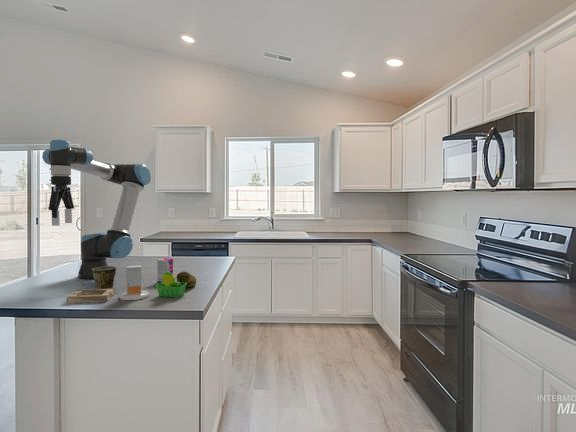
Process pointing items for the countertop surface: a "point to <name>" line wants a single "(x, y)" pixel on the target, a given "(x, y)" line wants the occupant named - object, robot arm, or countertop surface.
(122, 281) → the countertop surface
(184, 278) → the potato
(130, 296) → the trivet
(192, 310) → the countertop surface
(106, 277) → the ceramic cup
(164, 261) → the supplement box
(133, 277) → the skincare box
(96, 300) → the block
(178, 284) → the fruit basket
